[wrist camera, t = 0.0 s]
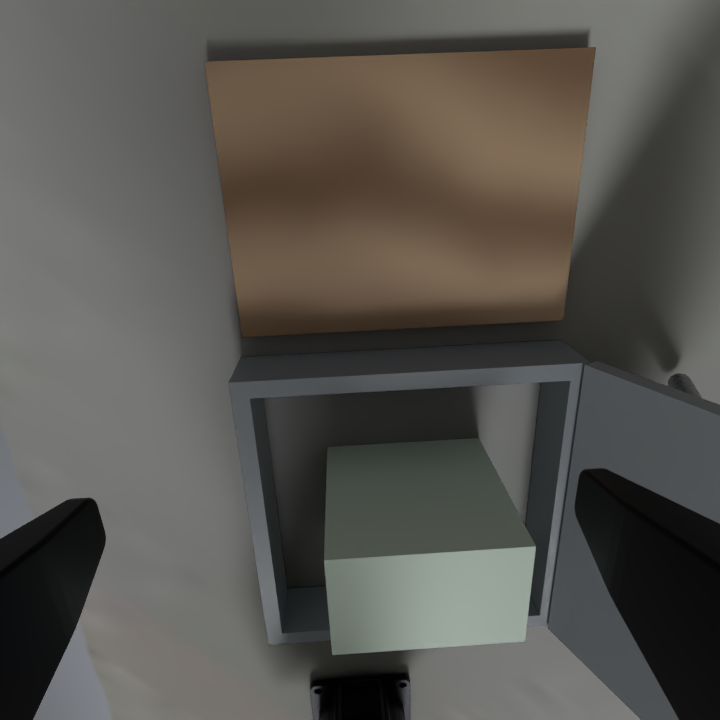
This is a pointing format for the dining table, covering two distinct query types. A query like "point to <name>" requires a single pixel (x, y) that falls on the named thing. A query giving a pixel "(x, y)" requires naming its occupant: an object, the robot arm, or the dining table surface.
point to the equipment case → (547, 484)
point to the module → (422, 548)
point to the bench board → (400, 187)
